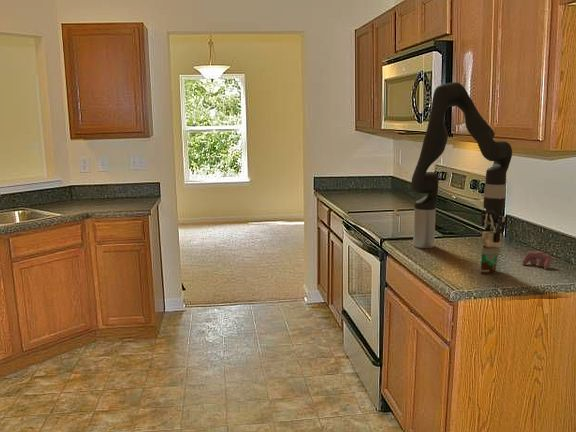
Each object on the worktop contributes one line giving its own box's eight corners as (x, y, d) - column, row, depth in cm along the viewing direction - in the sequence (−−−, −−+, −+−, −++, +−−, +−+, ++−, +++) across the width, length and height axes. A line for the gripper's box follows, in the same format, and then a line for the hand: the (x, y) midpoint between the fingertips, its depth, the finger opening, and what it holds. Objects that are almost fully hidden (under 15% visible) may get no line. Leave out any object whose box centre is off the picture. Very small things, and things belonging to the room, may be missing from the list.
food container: (498, 276, 204) (500, 250, 203) (480, 274, 207) (482, 248, 205) (498, 267, 216) (500, 242, 214) (482, 266, 218) (483, 241, 216)
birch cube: (481, 244, 211) (482, 231, 210) (493, 243, 212) (494, 231, 211) (488, 247, 206) (489, 234, 205) (501, 247, 207) (502, 233, 206)
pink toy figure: (550, 272, 215) (554, 254, 216) (546, 269, 212) (551, 251, 213) (524, 267, 222) (529, 250, 223) (520, 264, 219) (525, 247, 220)
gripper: (475, 193, 212) (472, 236, 215) (496, 199, 198) (493, 245, 201) (493, 192, 213) (490, 235, 217) (515, 198, 199) (512, 244, 203)
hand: (491, 240), depth 209 cm, fingers open, 5 cm apart
